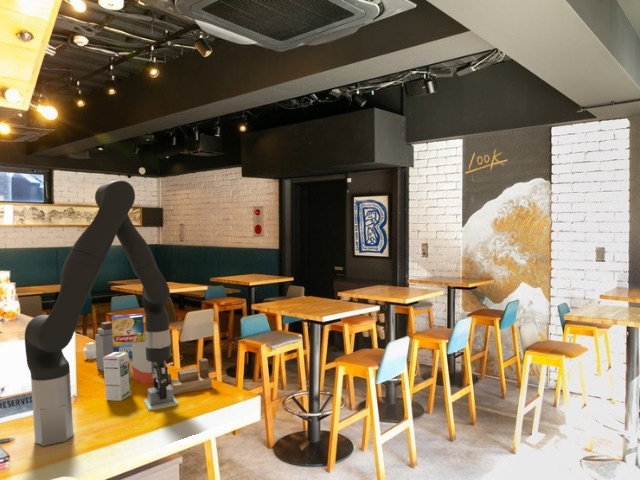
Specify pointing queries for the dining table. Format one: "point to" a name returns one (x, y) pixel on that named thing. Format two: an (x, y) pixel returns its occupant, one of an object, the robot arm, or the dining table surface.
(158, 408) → the mat
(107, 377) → the syrup box
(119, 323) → the cereal box
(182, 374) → the body
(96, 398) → the dining table surface
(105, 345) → the perfume bottle
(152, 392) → the lever cap
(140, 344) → the french fries container
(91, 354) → the white lumpy round piece
